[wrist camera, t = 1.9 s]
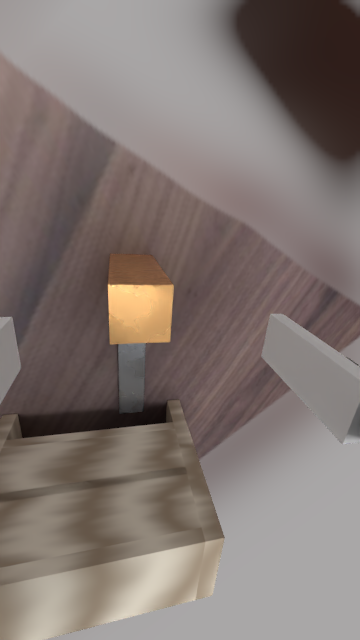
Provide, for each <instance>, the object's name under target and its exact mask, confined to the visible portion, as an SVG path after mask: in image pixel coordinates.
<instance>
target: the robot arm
mask: <svg viewBox="0 0 360 640" xmlns="http://www.w3.org/2000/svg"><path fill="white" fill-rule="evenodd" d="M261 357H262V358H263V359H264V360H265V361H266V362H267V363H268V364H269V365H270V366H271V368H272V369H273V370H274V371H275V372H276V373H277V374H278V375H279V376H280V377H281V378H282V380H283V381H284V382H285V383H286V384H287V385H288V386H289V387H290V388H291V389H292V390H293V391H294V392H295V394H296V395H297V396H298V397H299V398H300V399H301V400H302V401H303V402H304V403H305V404H306V405H307V407H308V408H309V409H310V410H311V411H312V412H313V413H314V414H315V415H316V416H317V417H318V419H319V420H320V421H321V422H322V423H323V424H324V425H325V426H326V427H327V428H328V429H329V430H330V432H331V433H332V434H333V435H334V436H335V437H336V438H337V439H338V440H339V441H340V442H341V443H342V444H351V443H358V442H360V366H358V364H356V363H355V362H353V361H352V360H350V359H349V358H347V357H345V356H343V355H342V354H340V353H339V352H337V351H336V350H334V349H333V348H332V347H330V346H329V345H327V344H326V343H324V342H323V341H321V340H320V339H318V338H317V337H316V336H314V335H313V334H311V333H310V332H308V331H307V330H305V329H304V328H302V327H301V326H299V325H298V324H297V323H295V322H294V321H292V320H291V319H289V318H288V317H286V316H285V315H283V314H270V318H269V323H268V327H267V332H266V337H265V342H264V346H263V351H262V356H261ZM20 369H21V363H20V358H19V352H18V347H17V341H16V335H15V330H14V324H13V319H12V317H0V404H1V402H2V401H3V399H4V397H5V395H6V394H7V392H8V390H9V388H10V387H11V385H12V383H13V382H14V380H15V378H16V376H17V375H18V373H19V371H20Z"/></svg>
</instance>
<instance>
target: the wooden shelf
mask: <svg viewBox="0 0 360 640" xmlns="http://www.w3.org/2000/svg"><path fill="white" fill-rule="evenodd" d="M223 543H224V535H223V532H222V529H221V525H220V523H219V520H218V516H217V513H216V510H215V507H214V504H213V502H212V498H211V495H210V492H209V489H208V486H207V483H206V480H205V477H204V474H203V471H202V468H201V465H200V462H199V459H198V456H197V453H196V450H195V447H194V444H193V441H192V438H191V435H190V432H189V429H188V426H187V423H186V420H185V417H184V413H183V410H182V407H181V404H180V401H179V399H178V400H167V412H166V423H161V424H152V425H142V426H133V427H124V428H114V429H105V430H96V431H86V432H77V433H68V434H58V435H49V436H40V437H30V438H22V433H21V428H20V423H19V418H18V414H8V415H2V417H1V419H0V640H45V639H49V638H52V637H56V636H60V635H64V634H67V633H72V632H75V631H79V630H83V629H87V628H91V627H94V626H98V625H102V624H106V623H109V622H113V621H117V620H121V619H125V618H129V617H132V616H136V615H140V614H144V613H148V612H151V611H155V610H159V609H163V608H167V607H171V606H174V605H178V604H182V603H186V602H189V601H193V600H197V599H201V598H205V597H208V596H212V594H213V590H214V585H215V580H216V575H217V571H218V566H219V562H220V557H221V552H222V547H223Z"/></svg>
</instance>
